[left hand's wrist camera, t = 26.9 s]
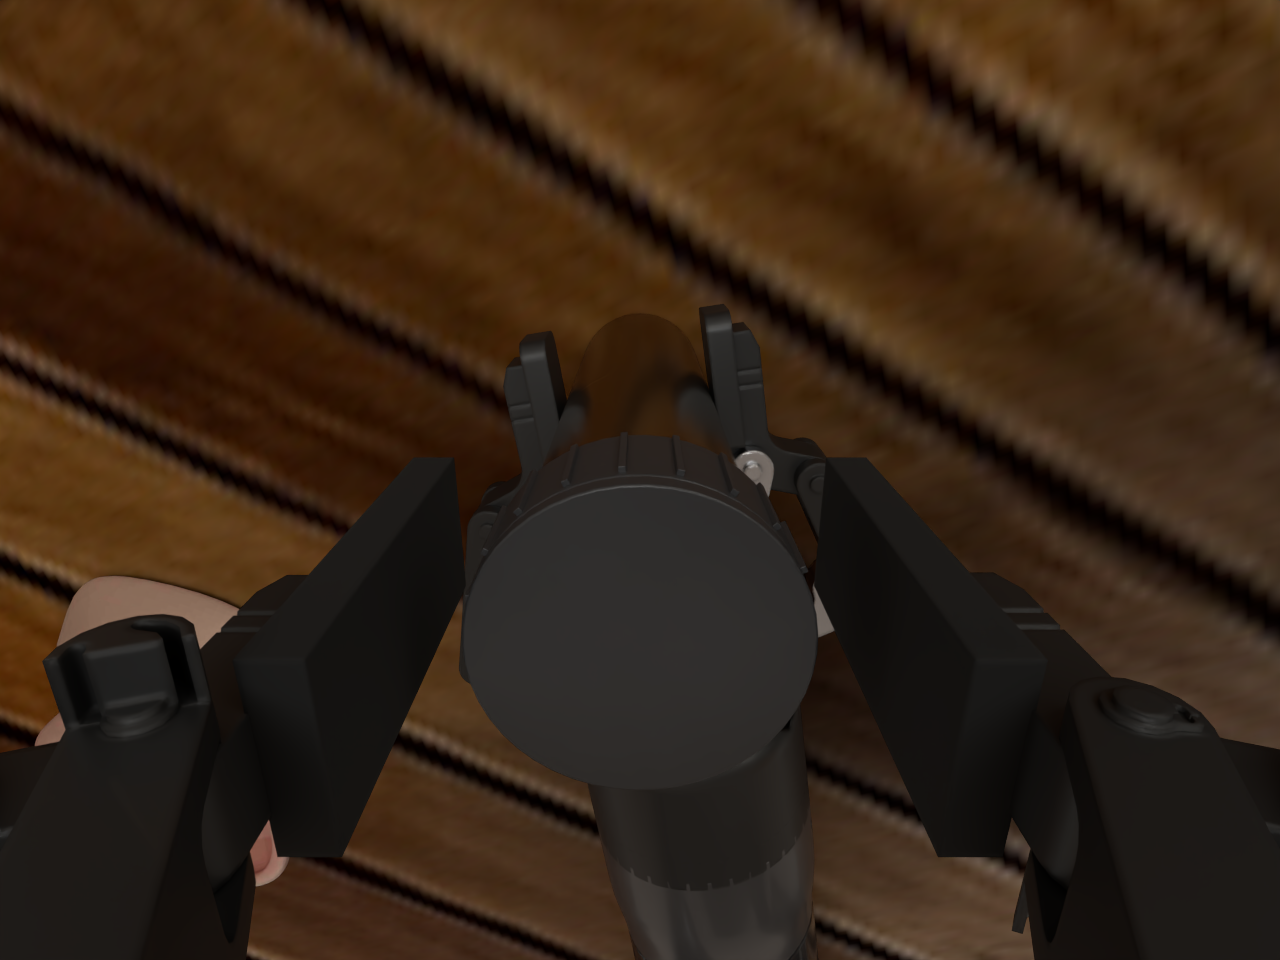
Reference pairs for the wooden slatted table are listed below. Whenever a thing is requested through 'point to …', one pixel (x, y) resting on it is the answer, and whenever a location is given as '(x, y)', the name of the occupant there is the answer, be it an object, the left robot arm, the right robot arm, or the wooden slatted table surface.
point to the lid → (639, 616)
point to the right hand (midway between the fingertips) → (623, 326)
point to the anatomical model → (147, 597)
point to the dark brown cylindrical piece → (639, 389)
